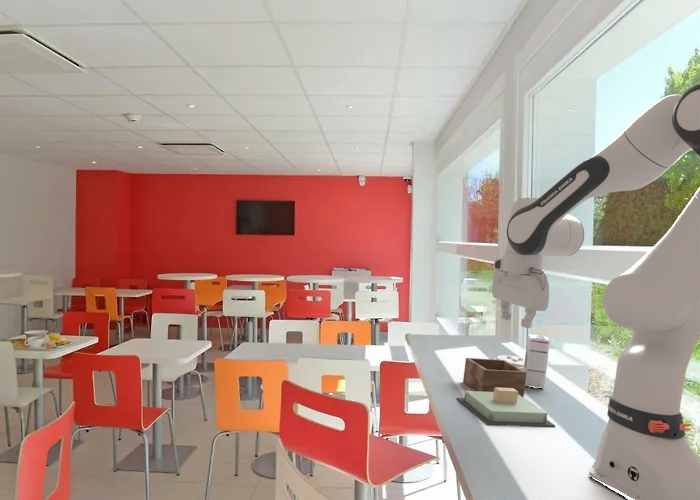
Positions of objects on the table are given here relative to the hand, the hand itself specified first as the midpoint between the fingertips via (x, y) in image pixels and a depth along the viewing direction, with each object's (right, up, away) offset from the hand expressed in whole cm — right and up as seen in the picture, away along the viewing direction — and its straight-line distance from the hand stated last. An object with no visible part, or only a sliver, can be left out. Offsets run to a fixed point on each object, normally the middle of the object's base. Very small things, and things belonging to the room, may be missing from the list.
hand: (515, 323), depth 133 cm
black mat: (-3, -22, +1) cm, 22 cm away
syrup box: (+14, -22, +29) cm, 39 cm away
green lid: (-3, -21, +1) cm, 21 cm away
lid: (+12, -21, +42) cm, 49 cm away
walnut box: (-1, -21, +20) cm, 29 cm away
